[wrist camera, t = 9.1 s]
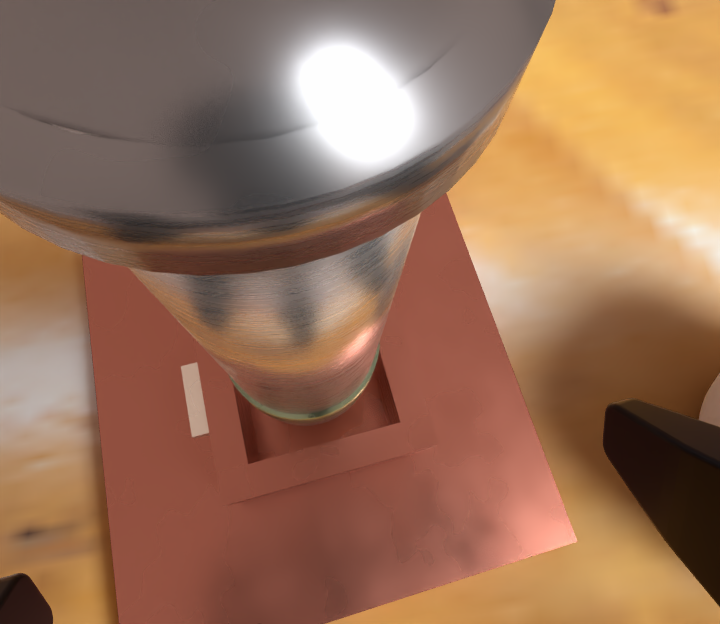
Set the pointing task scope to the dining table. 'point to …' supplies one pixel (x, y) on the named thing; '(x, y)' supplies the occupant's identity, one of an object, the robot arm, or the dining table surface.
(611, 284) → the dining table surface
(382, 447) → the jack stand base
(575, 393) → the dining table surface
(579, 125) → the dining table surface
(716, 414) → the teacup
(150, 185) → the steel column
